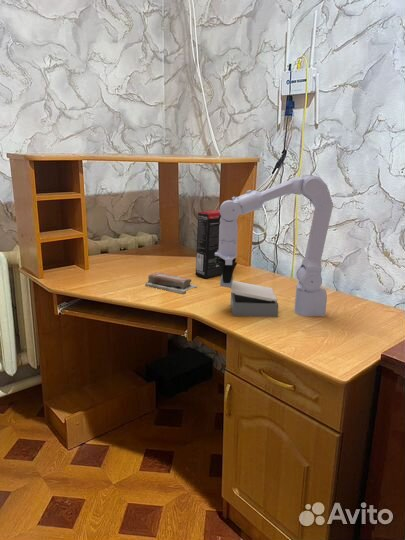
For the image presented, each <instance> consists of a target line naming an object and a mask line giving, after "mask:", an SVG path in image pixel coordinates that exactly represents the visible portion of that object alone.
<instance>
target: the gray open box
mask: <svg viewBox="0 0 405 540" xmlns="http://www.w3.org/2000/svg"><path fill="white" fill-rule="evenodd" d="M230 309H231V315H232V317H257V318H258V317H259V318H260V317H262V318H263V317H264V318H268V317H269V318H278V313H279V311H278V310H279V303H278V300H277V301H273V300H272V302H271V301H266V300H261V299H256V298H251V297H246V296H241V295H236V294H235V293H232V291H230Z"/></svg>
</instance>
